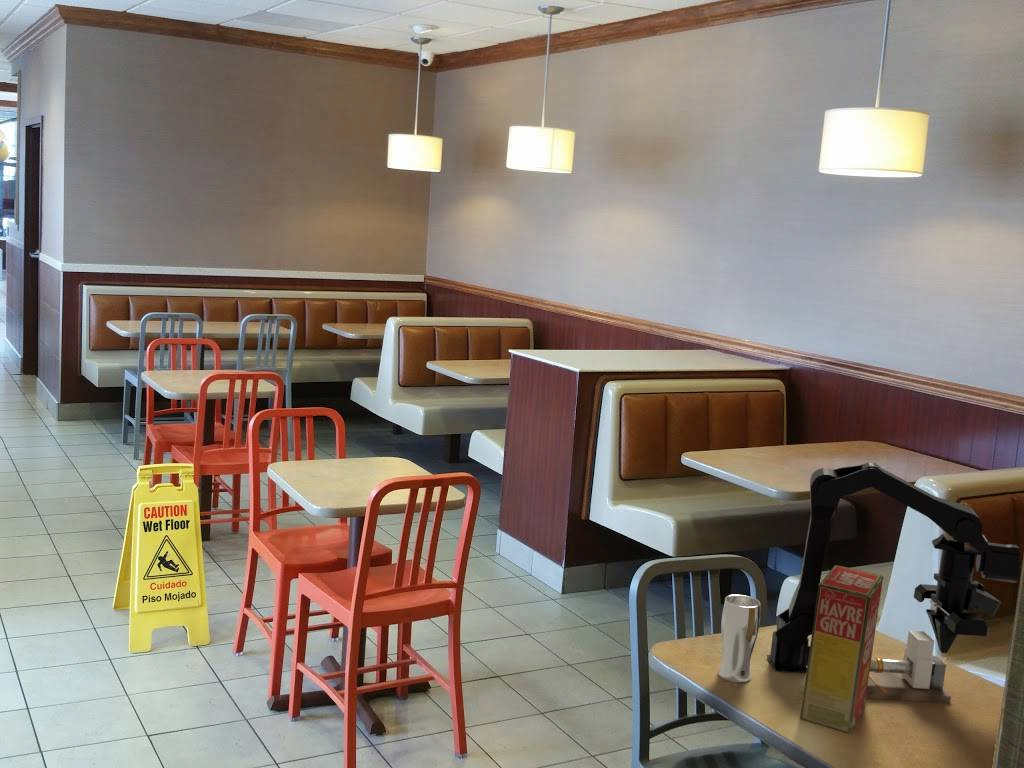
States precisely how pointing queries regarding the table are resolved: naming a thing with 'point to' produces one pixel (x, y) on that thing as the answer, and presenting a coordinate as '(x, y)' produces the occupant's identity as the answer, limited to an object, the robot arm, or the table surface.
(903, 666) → the grey metal peg
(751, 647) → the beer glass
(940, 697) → the base board
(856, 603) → the food packaging
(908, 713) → the table surface
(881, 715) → the table surface
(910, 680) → the collar
